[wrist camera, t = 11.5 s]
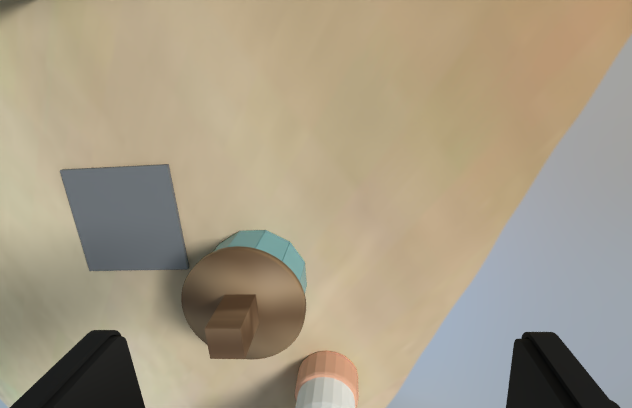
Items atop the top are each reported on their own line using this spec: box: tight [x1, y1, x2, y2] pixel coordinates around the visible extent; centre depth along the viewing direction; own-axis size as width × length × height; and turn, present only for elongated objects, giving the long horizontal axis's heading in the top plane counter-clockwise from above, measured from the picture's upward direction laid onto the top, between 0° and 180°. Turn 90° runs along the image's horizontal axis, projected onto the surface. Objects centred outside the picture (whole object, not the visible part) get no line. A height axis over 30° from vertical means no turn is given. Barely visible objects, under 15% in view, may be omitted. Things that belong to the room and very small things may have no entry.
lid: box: [182, 246, 306, 359], centre depth 33 cm, size 12×12×6 cm
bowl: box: [213, 230, 307, 294], centre depth 38 cm, size 11×11×6 cm
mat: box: [60, 164, 189, 271], centre depth 40 cm, size 12×12×1 cm
